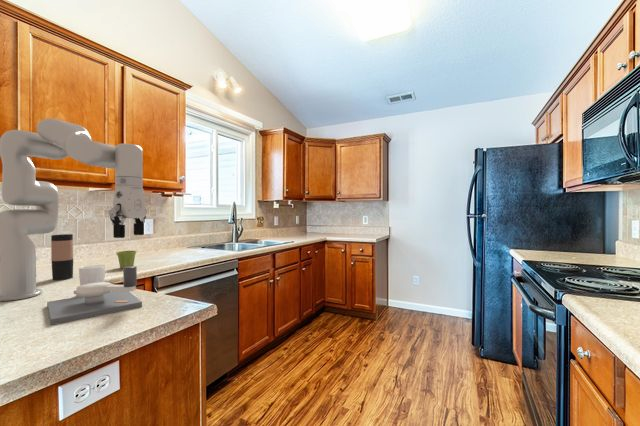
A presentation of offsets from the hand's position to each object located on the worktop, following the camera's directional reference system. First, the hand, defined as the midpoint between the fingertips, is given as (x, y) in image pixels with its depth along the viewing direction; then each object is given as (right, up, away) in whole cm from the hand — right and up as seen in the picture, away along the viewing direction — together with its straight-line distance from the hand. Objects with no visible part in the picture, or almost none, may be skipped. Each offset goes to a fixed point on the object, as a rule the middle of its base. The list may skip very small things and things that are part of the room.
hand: (129, 236), depth 98 cm
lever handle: (-8, -18, +1) cm, 20 cm away
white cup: (-24, -23, +16) cm, 37 cm away
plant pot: (-43, -22, +66) cm, 82 cm away
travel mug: (-56, -23, +41) cm, 73 cm away
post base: (-12, -23, 0) cm, 26 cm away
